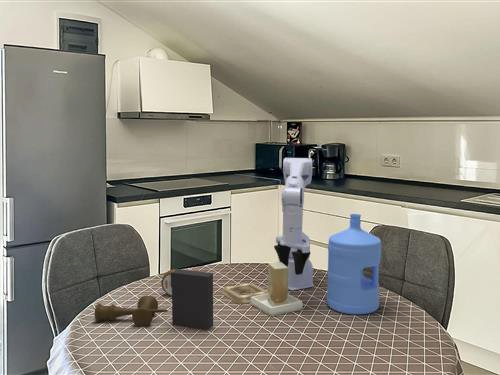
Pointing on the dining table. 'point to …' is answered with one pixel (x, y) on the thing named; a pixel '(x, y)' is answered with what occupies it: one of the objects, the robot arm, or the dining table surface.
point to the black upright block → (192, 299)
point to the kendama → (131, 311)
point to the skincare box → (277, 284)
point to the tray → (266, 307)
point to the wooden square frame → (233, 290)
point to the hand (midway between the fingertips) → (291, 270)
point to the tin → (168, 282)
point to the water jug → (353, 270)
